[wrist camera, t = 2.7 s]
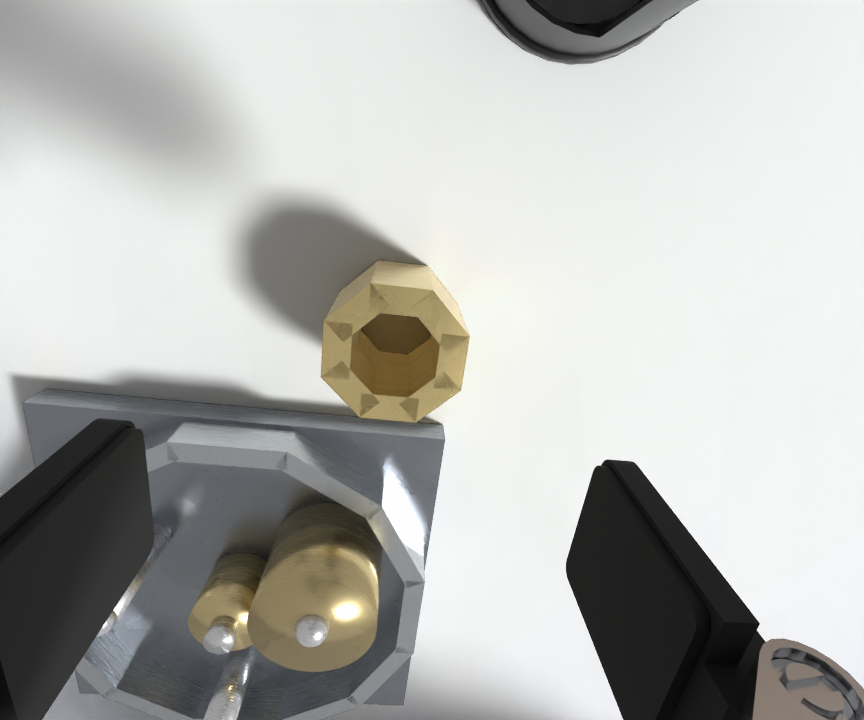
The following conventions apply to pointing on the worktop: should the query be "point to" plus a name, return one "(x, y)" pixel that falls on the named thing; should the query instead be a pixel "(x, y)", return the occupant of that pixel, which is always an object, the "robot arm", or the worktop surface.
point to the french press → (579, 29)
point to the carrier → (262, 558)
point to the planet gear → (385, 371)
